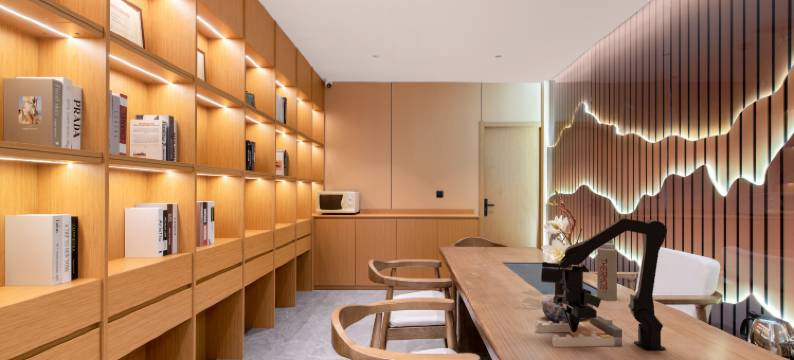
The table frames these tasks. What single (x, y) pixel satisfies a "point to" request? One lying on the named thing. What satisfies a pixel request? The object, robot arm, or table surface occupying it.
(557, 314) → the cell model
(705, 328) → the table surface
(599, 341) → the comb channel
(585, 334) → the block
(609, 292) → the thermos bottle
